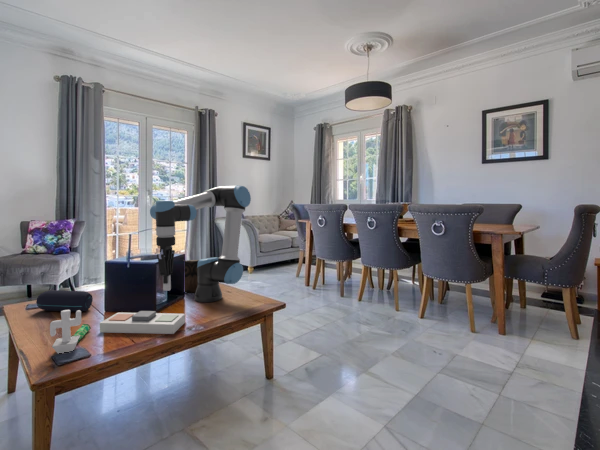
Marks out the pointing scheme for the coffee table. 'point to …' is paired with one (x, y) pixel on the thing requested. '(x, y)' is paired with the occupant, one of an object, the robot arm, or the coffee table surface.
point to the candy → (82, 331)
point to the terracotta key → (121, 317)
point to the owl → (191, 276)
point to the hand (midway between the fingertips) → (167, 290)
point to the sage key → (166, 318)
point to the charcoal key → (144, 316)
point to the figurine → (65, 332)
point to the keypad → (142, 325)
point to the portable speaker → (64, 300)
